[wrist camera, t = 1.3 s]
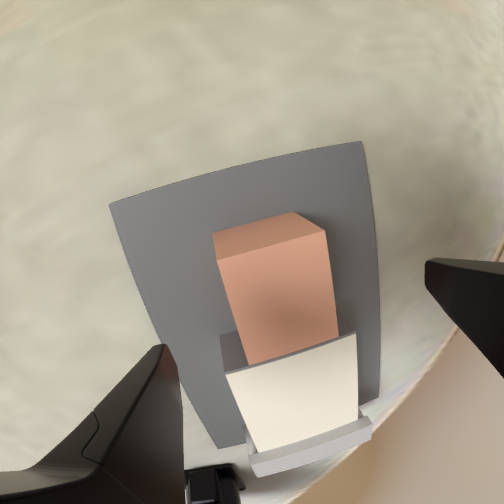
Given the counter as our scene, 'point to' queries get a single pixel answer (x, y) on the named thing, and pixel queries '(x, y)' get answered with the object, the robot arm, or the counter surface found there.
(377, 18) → the counter surface
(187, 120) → the counter surface
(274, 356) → the stub
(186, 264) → the grey flat tray
